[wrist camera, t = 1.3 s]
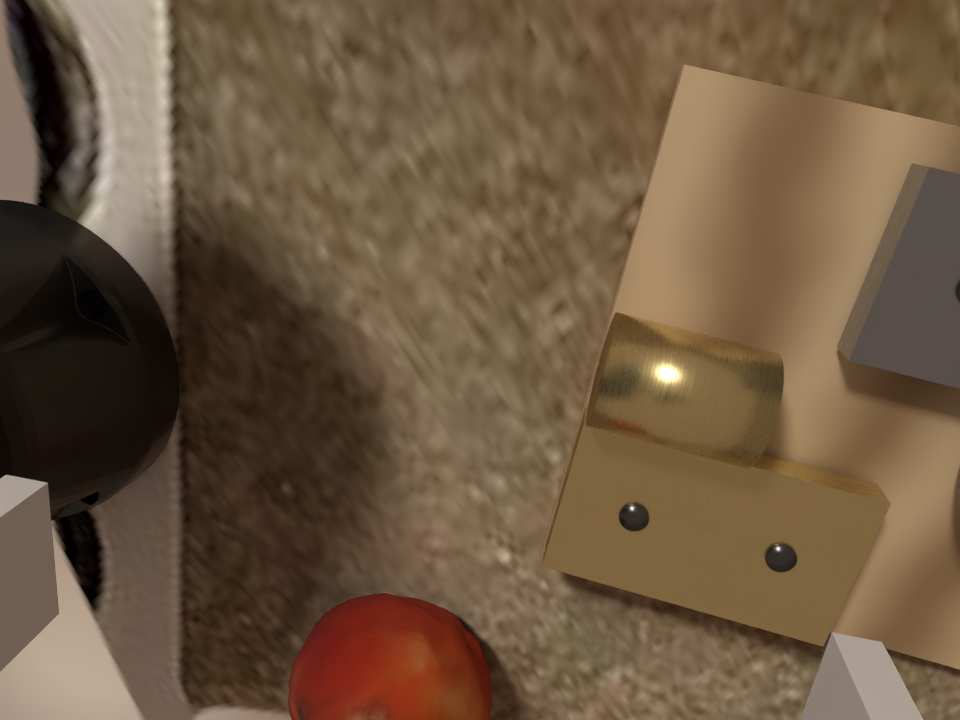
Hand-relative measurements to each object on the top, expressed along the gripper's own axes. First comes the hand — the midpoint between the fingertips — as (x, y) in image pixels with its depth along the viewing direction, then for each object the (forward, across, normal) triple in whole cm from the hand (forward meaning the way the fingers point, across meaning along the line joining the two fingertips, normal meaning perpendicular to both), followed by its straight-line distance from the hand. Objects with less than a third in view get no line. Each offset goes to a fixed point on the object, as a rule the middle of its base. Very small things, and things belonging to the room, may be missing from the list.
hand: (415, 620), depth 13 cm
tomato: (+21, -3, -19) cm, 28 cm away
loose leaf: (+19, +9, -5) cm, 22 cm away
